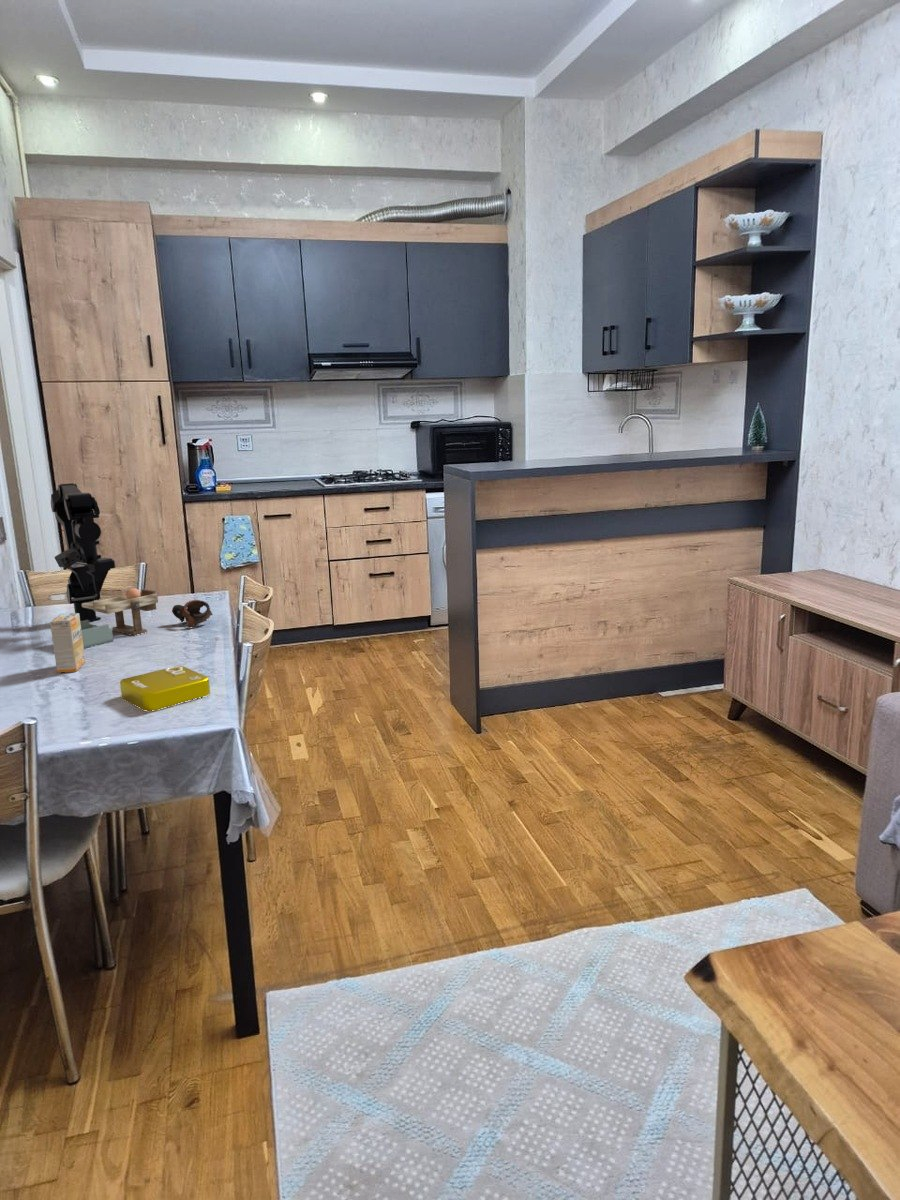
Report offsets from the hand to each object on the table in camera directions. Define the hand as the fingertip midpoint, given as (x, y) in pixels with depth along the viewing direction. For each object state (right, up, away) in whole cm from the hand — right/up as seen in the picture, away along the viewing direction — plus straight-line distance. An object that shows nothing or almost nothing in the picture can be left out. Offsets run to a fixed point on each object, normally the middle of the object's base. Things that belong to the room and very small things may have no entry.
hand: (91, 591), depth 230 cm
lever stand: (+10, -12, +1) cm, 16 cm away
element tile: (+41, -24, -54) cm, 72 cm away
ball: (+12, -1, +1) cm, 12 cm away
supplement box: (+9, -20, -32) cm, 38 cm away
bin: (+2, -14, -9) cm, 17 cm away
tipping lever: (+7, -6, +2) cm, 10 cm away
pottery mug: (+27, -10, +8) cm, 30 cm away
